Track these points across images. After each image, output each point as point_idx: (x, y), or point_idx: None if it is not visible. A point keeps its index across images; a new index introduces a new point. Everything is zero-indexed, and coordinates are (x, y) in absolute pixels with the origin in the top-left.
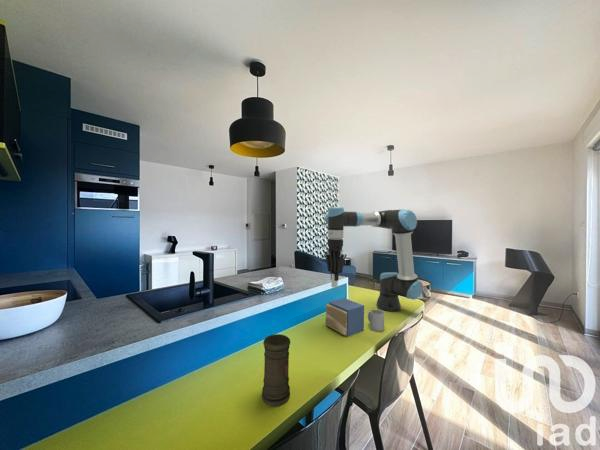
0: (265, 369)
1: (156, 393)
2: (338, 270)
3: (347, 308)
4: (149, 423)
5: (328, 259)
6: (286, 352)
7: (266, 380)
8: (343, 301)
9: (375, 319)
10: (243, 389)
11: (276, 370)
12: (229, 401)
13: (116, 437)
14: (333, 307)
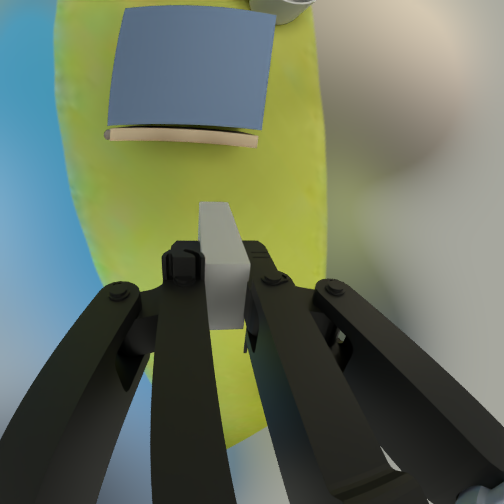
0: None
1: None
2: (340, 363)
3: (243, 112)
4: (230, 436)
5: (88, 499)
6: None
7: None
8: (155, 46)
9: (294, 11)
10: (244, 392)
11: None
12: (251, 403)
13: (230, 444)
14: (165, 140)
